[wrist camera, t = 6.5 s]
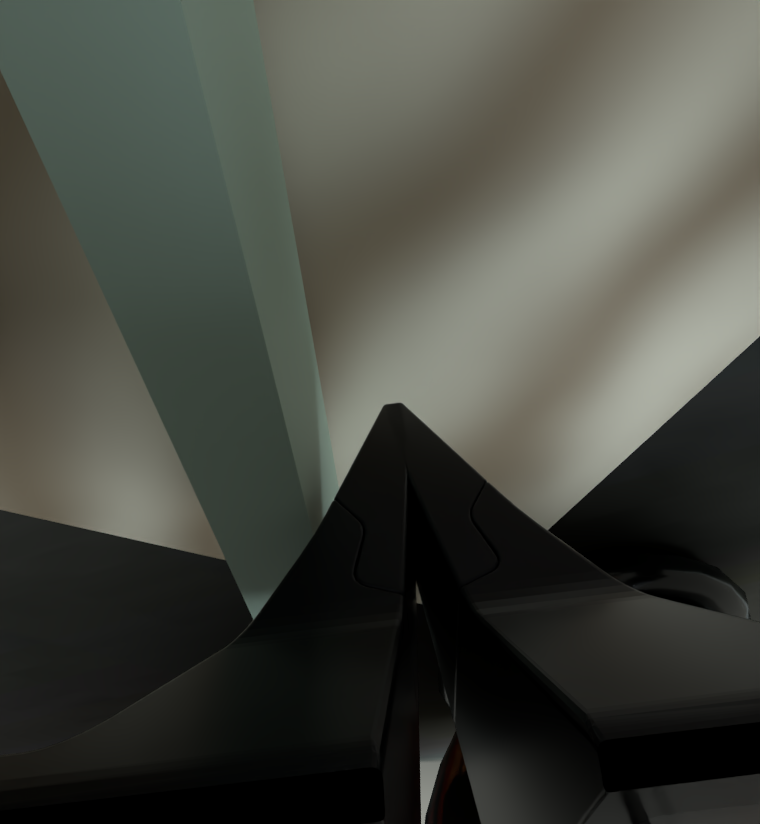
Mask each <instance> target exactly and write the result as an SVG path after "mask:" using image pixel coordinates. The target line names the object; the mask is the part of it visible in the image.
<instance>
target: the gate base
mask: <svg viewBox="0 0 760 824" xmlns="http://www.w3.org/2000/svg"><path fill="white" fill-rule="evenodd" d="M253 2H254V7H255V13H256V19H257V24H258V30H259V36H260V41H261V47H262V53H263V59H264V64H265V70H266V76H267V81H268V87H269V93H270V98H271V104H272V110H273V116H274V121H275V127H276V133H277V138H278V144H279V150H280V155H281V161H282V167H283V172H284V178H285V184H286V190H287V195H288V201H289V207H290V212H291V218H292V224H293V229H294V235H295V241H296V247H297V252H298V258H299V264H300V269H301V275H302V281H303V286H304V292H305V298H306V304H307V309H308V315H309V321H310V326H311V332H312V338H313V343H314V349H315V355H316V361H317V366H318V372H319V378H320V383H321V389H322V395H323V400H324V406H325V412H326V417H327V423H328V429H329V435H330V440H331V446H332V452H333V457H334V463H335V469H336V474H337V480H338V486H339V488H340V487H341V485H342V483H343V481H344V479H345V477H346V475H347V473H348V471H349V469H350V468H351V466H352V464H353V462H354V460H355V458H356V456H357V454H358V452H359V451H360V449H361V447H362V445H363V443H364V441H365V439H366V437H367V435H368V434H369V432H370V430H371V428H372V426H373V424H374V422H375V420H376V418H377V417H378V415H379V413H380V411H381V409H382V407H383V406H384V405H385V404H392V403H403V404H404V405H405V406H406V407H407V408H408V409H409V410H411V411H412V412H413V413H414V414H415V415H416V416H417V417H418V418H419V419H420V420H421V421H423V422H424V423H425V424H426V425H427V426H428V427H429V428H430V429H431V430H432V431H433V432H435V433H436V434H437V435H438V436H439V437H440V438H441V439H442V440H443V441H444V442H445V443H447V444H448V445H449V446H450V447H451V448H452V449H453V450H454V451H455V452H456V453H457V454H459V455H460V456H461V457H462V458H463V459H464V460H465V461H466V462H467V463H468V464H469V465H471V466H472V467H473V468H474V469H475V470H476V471H477V472H478V473H479V474H480V475H482V476H483V477H484V478H485V479H486V480H487V482H489V483H490V484H492V485H493V486H494V487H495V488H496V489H497V490H498V491H499V492H500V493H501V494H503V495H504V496H505V497H506V498H507V499H508V500H510V501H511V502H512V503H513V504H514V505H515V506H517V507H518V508H519V509H520V510H521V511H523V512H524V513H525V514H527V515H528V516H529V517H531V518H532V519H533V520H534V521H536V522H537V523H538V524H540V525H541V526H542V527H544V528H545V529H546V530H548V529H549V528H551V527H552V526H553V525H554V524H555V523H556V522H557V521H558V520H559V519H560V518H561V517H563V516H564V515H565V514H566V513H567V512H568V511H569V510H570V509H571V508H572V507H574V506H575V505H576V504H577V503H578V502H579V501H580V500H581V499H582V498H583V497H584V496H586V495H587V494H588V493H589V492H590V491H591V490H592V489H593V488H594V487H595V486H596V485H598V484H599V483H600V482H601V481H602V480H603V479H604V478H605V477H606V476H607V475H608V474H610V473H611V472H612V471H613V470H614V469H615V468H616V467H617V466H618V465H619V464H620V463H622V462H623V461H624V460H625V459H626V458H627V457H628V456H629V455H630V454H631V453H633V452H634V451H635V450H636V449H637V448H638V447H639V446H640V445H641V444H642V443H643V442H645V441H646V440H647V439H648V438H649V437H650V436H651V435H652V434H653V433H654V432H655V431H657V430H658V429H659V428H660V427H661V426H662V425H663V424H664V423H665V422H666V421H667V420H669V419H670V418H671V417H672V416H673V415H674V414H675V413H676V412H677V411H678V410H679V409H681V408H682V407H683V406H684V405H685V404H686V403H687V402H688V401H689V400H690V399H692V398H693V397H694V396H695V395H696V394H697V393H698V392H699V391H700V390H701V389H702V388H704V387H705V386H706V385H707V384H708V383H709V382H710V381H711V380H712V379H713V378H714V377H716V376H717V375H718V374H719V373H720V372H721V371H722V370H723V369H724V368H725V367H726V366H728V365H729V364H730V363H731V362H732V361H733V360H734V359H735V358H736V357H737V356H738V355H740V354H741V353H742V352H743V351H744V350H745V349H746V348H747V347H748V346H749V345H750V344H752V343H753V342H754V341H755V340H756V339H757V338H758V337H759V336H760V0H253ZM0 510H4V511H9V512H13V513H17V514H22V515H26V516H31V517H35V518H40V519H44V520H49V521H53V522H58V523H62V524H67V525H71V526H75V527H80V528H84V529H89V530H93V531H98V532H102V533H107V534H111V535H116V536H120V537H125V538H129V539H134V540H138V541H142V542H147V543H151V544H156V545H160V546H165V547H169V548H174V549H178V550H183V551H187V552H192V553H196V554H200V555H205V556H209V557H214V558H218V559H223V560H226V559H225V557H224V555H223V552H222V550H221V548H220V546H219V544H218V542H217V539H216V537H215V535H214V533H213V531H212V529H211V526H210V524H209V522H208V520H207V518H206V516H205V513H204V511H203V509H202V507H201V505H200V503H199V500H198V498H197V496H196V494H195V492H194V490H193V487H192V485H191V483H190V481H189V479H188V477H187V474H186V472H185V470H184V468H183V466H182V463H181V461H180V459H179V457H178V455H177V453H176V450H175V448H174V446H173V444H172V442H171V440H170V437H169V435H168V433H167V431H166V429H165V427H164V424H163V422H162V420H161V418H160V416H159V414H158V411H157V409H156V407H155V405H154V403H153V401H152V398H151V396H150V394H149V392H148V390H147V388H146V385H145V383H144V381H143V379H142V377H141V375H140V372H139V370H138V368H137V366H136V364H135V361H134V359H133V357H132V355H131V353H130V351H129V348H128V346H127V344H126V342H125V340H124V338H123V335H122V333H121V331H120V329H119V327H118V325H117V322H116V320H115V318H114V316H113V314H112V312H111V309H110V307H109V305H108V303H107V301H106V299H105V296H104V294H103V292H102V290H101V288H100V286H99V283H98V281H97V279H96V277H95V275H94V273H93V270H92V268H91V266H90V264H89V262H88V259H87V257H86V255H85V253H84V251H83V249H82V246H81V244H80V242H79V240H78V238H77V236H76V233H75V231H74V229H73V227H72V225H71V223H70V220H69V218H68V216H67V214H66V212H65V210H64V207H63V205H62V203H61V201H60V199H59V197H58V194H57V192H56V190H55V188H54V186H53V184H52V181H51V179H50V177H49V175H48V173H47V171H46V168H45V166H44V164H43V162H42V160H41V157H40V155H39V153H38V151H37V149H36V147H35V144H34V142H33V140H32V138H31V136H30V134H29V131H28V129H27V127H26V125H25V123H24V121H23V118H22V116H21V114H20V112H19V110H18V108H17V105H16V103H15V101H14V99H13V97H12V95H11V92H10V90H9V88H8V86H7V84H6V82H5V79H4V77H3V75H2V73H1V71H0ZM416 598H417V603H419V604H422V601H421V597H420V593H419V590H418V586H417V582H416Z"/></svg>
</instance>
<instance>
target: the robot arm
mask: <svg viewBox="0 0 760 824" xmlns="http://www.w3.org/2000/svg"><path fill="white" fill-rule="evenodd" d="M416 582H417V586H418V590H419V593H420V597H421V601H422V605H423V608H424V612H425V616H426V620H427V623H428V627H429V631H430V635H431V638H432V642H433V646H434V649H435V653H436V657H437V661H438V664H439V668H440V672H441V676H442V679H443V683H444V687H445V690H446V694H447V698H448V702H449V705H450V709H451V713H452V717H453V720H454V722H455V728H456V732H457V736H458V739H459V743H460V747H461V750H462V754H463V758H464V762H465V765H466V769H467V773H468V777H469V780H470V784H471V788H472V792H473V795H474V799H475V803H476V806H477V810H478V814H479V818H480V821H481V824H760V622H758V621H754V620H750V619H746V618H741V617H737V616H733V615H729V614H725V613H721V612H717V611H713V610H708V609H704V608H700V607H696V606H692V605H688V604H684V603H679V602H675V601H671V600H667V599H663V598H659V597H655V596H652V595H648V594H646V593H643V592H640V591H638V590H636V589H634V588H632V587H629V586H627V585H625V584H624V583H622V582H620V581H618V580H617V579H615V578H613V577H612V576H610V575H609V574H607V573H606V572H604V571H603V570H602V569H600V568H599V567H597V566H596V565H595V564H593V563H592V562H591V561H589V560H588V559H586V558H585V557H584V556H582V555H581V554H579V553H578V552H577V551H575V550H574V549H573V548H571V547H570V546H568V545H567V544H566V543H564V542H563V541H562V540H560V539H559V538H557V537H556V536H555V535H553V534H552V533H551V532H549V531H548V530H546V529H545V528H544V527H542V526H541V525H540V524H538V523H537V522H536V521H534V520H533V519H532V518H531V517H529V516H528V515H527V514H525V513H524V512H523V511H521V510H520V509H519V508H518V507H517V506H515V505H514V504H513V503H512V502H511V501H510V500H508V499H507V498H506V497H505V496H504V495H503V494H501V493H500V492H499V491H498V490H497V489H496V488H495V487H494V486H493V485H492V484H490V483H489V482H487V480H486V479H485V478H484V477H483V476H482V475H480V474H479V473H478V472H477V471H476V470H475V469H474V468H473V467H472V466H471V465H469V464H468V463H467V462H466V461H465V460H464V459H463V458H462V457H461V456H460V455H459V454H457V453H456V452H455V451H454V450H453V449H452V448H451V447H450V446H449V445H448V444H447V443H445V442H444V441H443V440H442V439H441V438H440V437H439V436H438V435H437V434H436V433H435V432H433V431H432V430H431V429H430V428H429V427H428V426H427V425H426V424H425V423H424V422H423V421H421V420H420V419H419V418H418V417H417V416H416V415H415V414H414V413H413V412H412V411H411V410H409V409H408V408H407V407H406V406H405V405H404V404H403V403H392V404H385V405H384V406H383V407H382V409H381V411H380V413H379V415H378V417H377V418H376V420H375V422H374V424H373V426H372V428H371V430H370V432H369V434H368V435H367V437H366V439H365V441H364V443H363V445H362V447H361V449H360V451H359V452H358V454H357V456H356V458H355V460H354V462H353V464H352V466H351V468H350V469H349V471H348V473H347V475H346V477H345V479H344V481H343V483H342V485H341V487H340V488H339V490H338V492H337V494H336V496H335V498H334V501H332V503H331V505H330V507H329V509H328V511H327V513H326V515H325V516H324V518H323V520H322V521H321V523H320V525H319V527H318V528H317V530H316V532H315V534H314V535H313V537H312V538H311V540H310V541H309V543H308V544H307V546H306V547H305V548H304V550H303V551H302V553H301V554H300V556H299V557H298V559H297V560H296V562H295V563H294V564H293V566H292V567H291V568H290V570H289V571H288V573H287V574H286V575H285V577H284V578H283V580H282V581H281V582H280V584H279V585H278V587H277V588H276V589H275V591H274V592H273V594H272V595H271V596H270V598H269V599H268V601H267V602H266V603H265V605H264V606H263V608H262V609H261V610H260V612H259V613H258V614H257V616H256V617H255V618H254V620H253V621H252V622H251V623H250V624H249V626H248V627H247V628H246V629H245V630H244V631H243V632H242V633H241V634H240V635H239V636H238V637H237V638H236V639H235V640H234V641H233V642H231V643H230V644H229V645H228V646H226V647H225V648H223V649H222V650H220V651H219V652H217V653H215V654H214V655H212V656H210V657H209V658H207V659H206V660H204V661H202V662H201V663H199V664H197V665H196V666H194V667H192V668H191V669H189V670H188V671H186V672H184V673H183V674H181V675H179V676H178V677H176V678H174V679H173V680H171V681H170V682H168V683H166V684H165V685H163V686H161V687H160V688H158V689H156V690H155V691H153V692H152V693H150V694H148V695H147V696H145V697H143V698H142V699H140V700H138V701H137V702H135V703H134V704H132V705H130V706H129V707H127V708H125V709H124V710H122V711H121V712H119V713H117V714H116V715H114V716H112V717H111V718H109V719H107V720H105V721H104V722H102V723H100V724H98V725H97V726H95V727H93V728H91V729H89V730H87V731H85V732H83V733H81V734H79V735H76V736H74V737H72V738H70V739H67V740H65V741H63V742H60V743H57V744H54V745H51V746H48V747H45V748H42V749H38V750H33V751H28V752H24V753H16V754H8V755H0V824H421V802H420V750H419V700H418V649H417V598H416Z"/></svg>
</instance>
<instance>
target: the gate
mask: <svg viewBox="0 0 760 824" xmlns="http://www.w3.org/2000/svg"><path fill="white" fill-rule="evenodd" d="M0 71H1V73H2V75H3V77H4V79H5V82H6V84H7V86H8V88H9V90H10V92H11V95H12V97H13V99H14V101H15V103H16V105H17V108H18V110H19V112H20V114H21V116H22V118H23V121H24V123H25V125H26V127H27V129H28V131H29V134H30V136H31V138H32V140H33V142H34V144H35V147H36V149H37V151H38V153H39V155H40V157H41V160H42V162H43V164H44V166H45V168H46V171H47V173H48V175H49V177H50V179H51V181H52V184H53V186H54V188H55V190H56V192H57V194H58V197H59V199H60V201H61V203H62V205H63V207H64V210H65V212H66V214H67V216H68V218H69V220H70V223H71V225H72V227H73V229H74V231H75V233H76V236H77V238H78V240H79V242H80V244H81V246H82V249H83V251H84V253H85V255H86V257H87V259H88V262H89V264H90V266H91V268H92V270H93V273H94V275H95V277H96V279H97V281H98V283H99V286H100V288H101V290H102V292H103V294H104V296H105V299H106V301H107V303H108V305H109V307H110V309H111V312H112V314H113V316H114V318H115V320H116V322H117V325H118V327H119V329H120V331H121V333H122V335H123V338H124V340H125V342H126V344H127V346H128V348H129V351H130V353H131V355H132V357H133V359H134V361H135V364H136V366H137V368H138V370H139V372H140V375H141V377H142V379H143V381H144V383H145V385H146V388H147V390H148V392H149V394H150V396H151V398H152V401H153V403H154V405H155V407H156V409H157V411H158V414H159V416H160V418H161V420H162V422H163V424H164V427H165V429H166V431H167V433H168V435H169V437H170V440H171V442H172V444H173V446H174V448H175V450H176V453H177V455H178V457H179V459H180V461H181V463H182V466H183V468H184V470H185V472H186V474H187V477H188V479H189V481H190V483H191V485H192V487H193V490H194V492H195V494H196V496H197V498H198V500H199V503H200V505H201V507H202V509H203V511H204V513H205V516H206V518H207V520H208V522H209V524H210V526H211V529H212V531H213V533H214V535H215V537H216V539H217V542H218V544H219V546H220V548H221V550H222V552H223V555H224V557H225V559H226V561H227V563H228V565H229V568H230V570H231V572H232V574H233V576H234V579H235V581H236V583H237V585H238V587H239V589H240V592H241V594H242V596H243V598H244V600H245V602H246V605H247V607H248V609H249V611H250V613H251V615H252V618H253V620H254V618H255V617H256V616H257V614H258V613H259V612H260V610H261V609H262V608H263V606H264V605H265V603H266V602H267V601H268V599H269V598H270V596H271V595H272V594H273V592H274V591H275V589H276V588H277V587H278V585H279V584H280V582H281V581H282V580H283V578H284V577H285V575H286V574H287V573H288V571H289V570H290V568H291V567H292V566H293V564H294V563H295V562H296V560H297V559H298V557H299V556H300V554H301V553H302V551H303V550H304V548H305V547H306V546H307V544H308V543H309V541H310V540H311V538H312V537H313V535H314V534H315V532H316V530H317V528H318V527H319V525H320V523H321V521H322V520H323V518H324V516H325V515H326V513H327V511H328V509H329V507H330V505H331V503H332V501H334V498H335V496H336V494H337V492H338V490H339V486H338V480H337V474H336V469H335V463H334V457H333V452H332V446H331V440H330V435H329V429H328V423H327V417H326V412H325V406H324V400H323V395H322V389H321V383H320V378H319V372H318V366H317V361H316V355H315V349H314V343H313V338H312V332H311V326H310V321H309V315H308V309H307V304H306V298H305V292H304V286H303V281H302V275H301V269H300V264H299V258H298V252H297V247H296V241H295V235H294V229H293V224H292V218H291V212H290V207H289V201H288V195H287V190H286V184H285V178H284V172H283V167H282V161H281V155H280V150H279V144H278V138H277V133H276V127H275V121H274V116H273V110H272V104H271V98H270V93H269V87H268V81H267V76H266V70H265V64H264V59H263V53H262V47H261V41H260V36H259V30H258V24H257V19H256V13H255V7H254V2H253V0H0Z"/></svg>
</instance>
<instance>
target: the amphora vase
mask: <svg viewBox="0 0 760 824" xmlns="http://www.w3.org/2000/svg"><path fill="white" fill-rule="evenodd" d="M589 561H591V562H592V563H593V564H595V565H596V566H597V567H599V568H600V569H602V570H603V571H604V572H606V573H607V574H609V575H610V576H612V577H613V578H615V579H617V580H618V581H620V582H622V583H624V584H625V585H627V586H629V587H632V588H634V589H636V590H638V591H640V592H643V593H646V594H648V595H652V596H655V597H659V598H663V599H667V600H671V601H675V602H679V603H684V604H688V605H692V606H696V607H700V608H704V609H708V610H713V611H717V612H721V613H725V614H729V615H733V616H737V617H741V618H746V619H750V620H751V618H750V612H749V606H748V602H747V598H746V594H745V592H744V591H743V590H742V589H741V588H740V587H739V586H738V585H737V584H735V583H734V582H733V581H732V580H731V579H730V578H729V577H728V576H726V575H725V574H724V573H723V572H722V571H721V570H720V569H719V568H717V567H714V566H711V565H708V564H705V563H702V562H699V561H695V560H692V559H689V558H685V557H682V556H678V555H674V554H655V553H632V554H624V555H616V556H609V557H601V558H594V559H589ZM438 684H439V692H440V693H441V695H442V697H443V698H444V700H445V702H446V703H447V705H448V707H449V708H450V705H449V702H448V698H447V694H446V690H445V687H444V683H443V679H442V676H441V672H440V668H439V671H438ZM425 824H481V821H480V818H479V814H478V810H477V806H476V803H475V799H474V795H473V792H472V788H471V784H470V780H469V777H468V773H467V769H466V765H465V762H464V758H463V754H462V750H461V747H460V743H459V739H458V736H457V732H455V734H454V736H453V738H452V740H451V742H450V745H449V747H448V749H447V751H446V753H445V755H444V757H443V760H442V762H441V764H440V767H439V771H438V774H437V778H436V781H435V785H434V788H433V792H432V795H431V799H430V803H429V806H428V809H427V813H426V817H425Z"/></svg>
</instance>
